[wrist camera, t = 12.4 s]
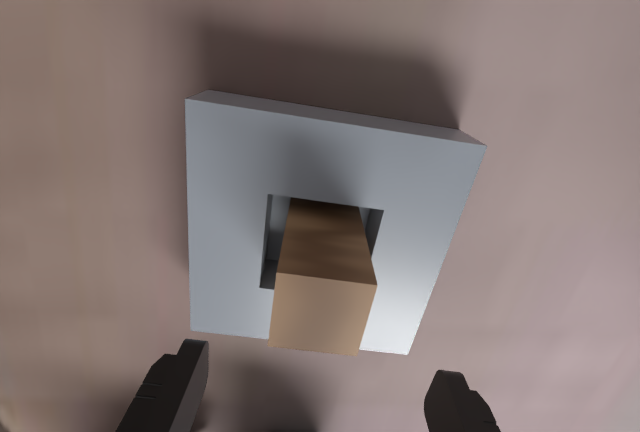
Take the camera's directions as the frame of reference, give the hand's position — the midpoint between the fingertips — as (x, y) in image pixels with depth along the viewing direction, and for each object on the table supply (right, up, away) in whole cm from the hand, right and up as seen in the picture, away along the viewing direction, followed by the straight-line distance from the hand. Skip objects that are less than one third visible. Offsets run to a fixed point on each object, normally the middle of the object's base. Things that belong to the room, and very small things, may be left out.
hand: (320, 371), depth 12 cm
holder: (0, +5, +10) cm, 11 cm away
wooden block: (0, +5, +9) cm, 11 cm away
